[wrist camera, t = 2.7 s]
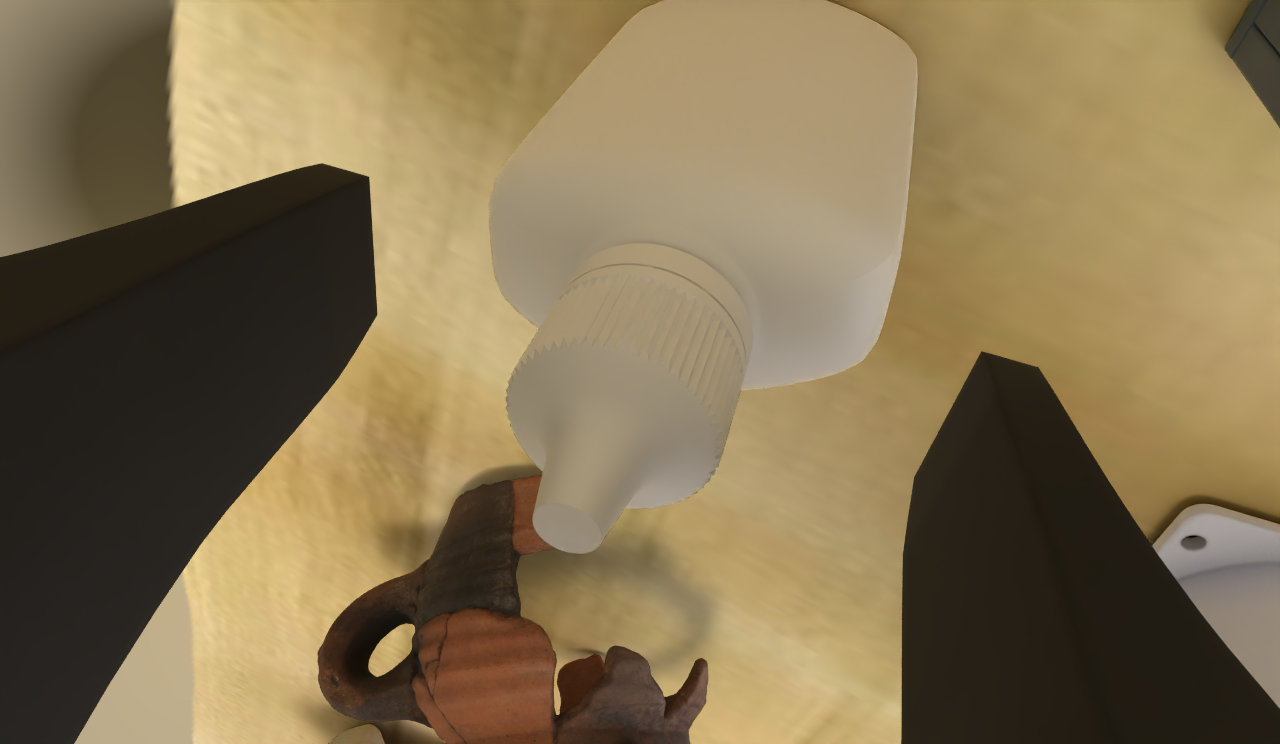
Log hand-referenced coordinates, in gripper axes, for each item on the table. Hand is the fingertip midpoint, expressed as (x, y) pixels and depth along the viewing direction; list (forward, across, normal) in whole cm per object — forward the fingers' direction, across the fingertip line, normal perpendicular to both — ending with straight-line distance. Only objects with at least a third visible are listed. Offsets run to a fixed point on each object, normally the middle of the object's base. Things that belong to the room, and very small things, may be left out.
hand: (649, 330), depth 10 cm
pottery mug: (+9, +3, +18) cm, 21 cm away
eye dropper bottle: (+9, 0, 0) cm, 9 cm away
